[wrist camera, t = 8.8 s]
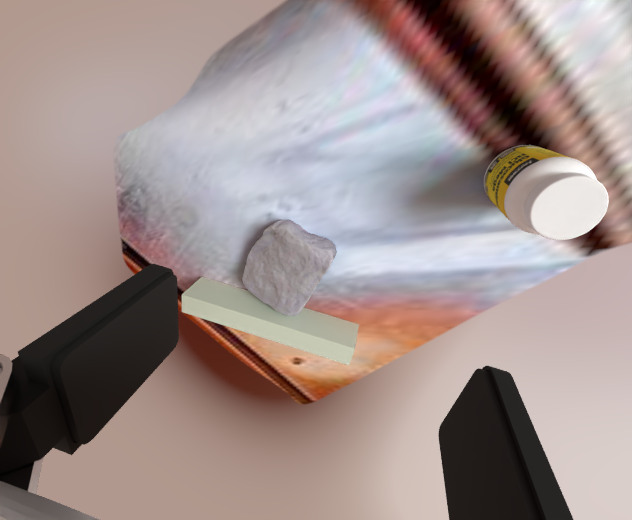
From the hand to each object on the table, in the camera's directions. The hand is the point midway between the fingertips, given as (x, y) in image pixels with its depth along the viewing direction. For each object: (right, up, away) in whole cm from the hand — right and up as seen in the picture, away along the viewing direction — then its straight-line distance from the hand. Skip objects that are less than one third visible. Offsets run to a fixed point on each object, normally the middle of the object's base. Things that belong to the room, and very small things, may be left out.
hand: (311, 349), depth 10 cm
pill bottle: (+20, +11, +22) cm, 32 cm away
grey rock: (-4, +3, +33) cm, 33 cm away
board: (-6, -4, +36) cm, 37 cm away
